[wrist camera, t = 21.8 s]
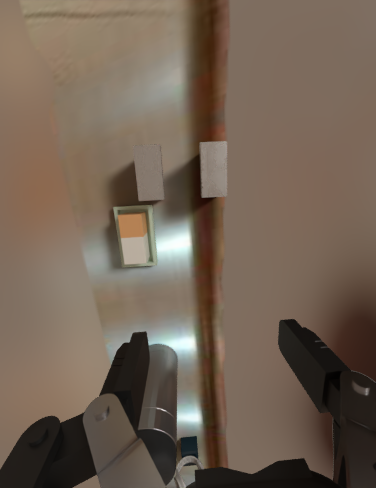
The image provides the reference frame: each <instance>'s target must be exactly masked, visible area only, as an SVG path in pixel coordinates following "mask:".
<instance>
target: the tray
mask: <svg viewBox="0 0 376 488" xmlns="http://www.w3.org/2000/svg"><path fill="white" fill-rule="evenodd" d="M113 208H114V215H115V222H116V229H117V236H118V243H119V250H120V257H121V264H122V267H137V266H153V265H157V263H158V260H157V249H156V239H155V228H154V217H153V207H152V205H136V206H117V207H113ZM134 212H145V213H146V222H147V232H148V241H149V251H150V257H149V259H148V261H147V263H142V264H126V265H125V264H124V257H123V250H122V243H121V236H120V228H119V221H118V215H120V214H123V213H134Z"/></svg>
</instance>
